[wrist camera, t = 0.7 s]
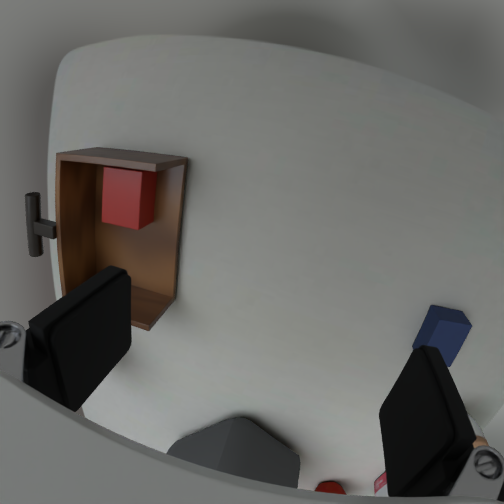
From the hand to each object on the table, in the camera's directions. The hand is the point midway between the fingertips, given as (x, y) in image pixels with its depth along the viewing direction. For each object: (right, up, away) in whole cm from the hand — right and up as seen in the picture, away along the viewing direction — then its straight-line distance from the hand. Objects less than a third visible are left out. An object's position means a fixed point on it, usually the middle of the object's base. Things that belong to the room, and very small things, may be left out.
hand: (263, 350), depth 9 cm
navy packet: (+18, -5, +18) cm, 26 cm away
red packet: (-11, +8, +18) cm, 23 cm away
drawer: (-14, +6, +20) cm, 25 cm away
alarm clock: (-3, -24, +29) cm, 38 cm away
